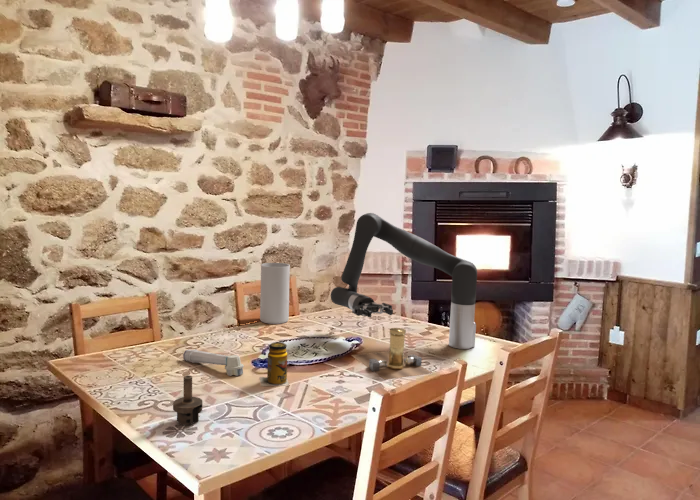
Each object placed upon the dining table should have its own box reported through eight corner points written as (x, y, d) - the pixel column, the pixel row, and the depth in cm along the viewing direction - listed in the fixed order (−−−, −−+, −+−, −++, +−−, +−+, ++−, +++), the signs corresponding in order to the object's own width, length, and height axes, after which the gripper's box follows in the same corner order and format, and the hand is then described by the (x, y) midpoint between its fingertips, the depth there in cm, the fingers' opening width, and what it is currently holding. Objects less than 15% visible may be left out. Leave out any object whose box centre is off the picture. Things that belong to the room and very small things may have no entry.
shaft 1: (383, 366, 190) (384, 358, 190) (387, 370, 186) (387, 362, 185) (368, 367, 189) (369, 359, 188) (372, 371, 185) (372, 363, 184)
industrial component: (166, 422, 142) (165, 377, 141) (187, 413, 148) (187, 369, 147) (192, 432, 138) (192, 385, 136) (213, 422, 144) (214, 377, 142)
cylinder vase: (273, 315, 256) (274, 261, 253) (294, 320, 249) (295, 265, 246) (254, 320, 246) (254, 264, 243) (274, 325, 239) (276, 268, 236)
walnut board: (394, 352, 209) (394, 350, 208) (432, 374, 185) (432, 373, 185) (350, 356, 201) (350, 355, 201) (384, 381, 178) (384, 379, 178)
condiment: (289, 385, 171) (290, 347, 170) (261, 386, 169) (261, 348, 168) (286, 377, 178) (287, 340, 177) (259, 378, 176) (260, 341, 175)
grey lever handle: (193, 347, 193) (245, 351, 179) (194, 366, 193) (247, 372, 180) (180, 350, 189) (234, 355, 175) (182, 370, 189) (236, 376, 175)
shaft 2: (412, 362, 196) (413, 354, 196) (421, 365, 192) (421, 357, 192) (401, 364, 193) (401, 356, 192) (410, 368, 189) (410, 360, 189)
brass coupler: (398, 364, 193) (400, 327, 191) (406, 369, 188) (408, 331, 187) (384, 365, 191) (386, 328, 189) (392, 370, 186) (394, 332, 184)
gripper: (344, 296, 211) (363, 304, 197) (377, 293, 217) (398, 301, 203) (344, 315, 212) (363, 325, 198) (377, 312, 218) (398, 321, 204)
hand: (381, 313), depth 200 cm, fingers open, 8 cm apart
